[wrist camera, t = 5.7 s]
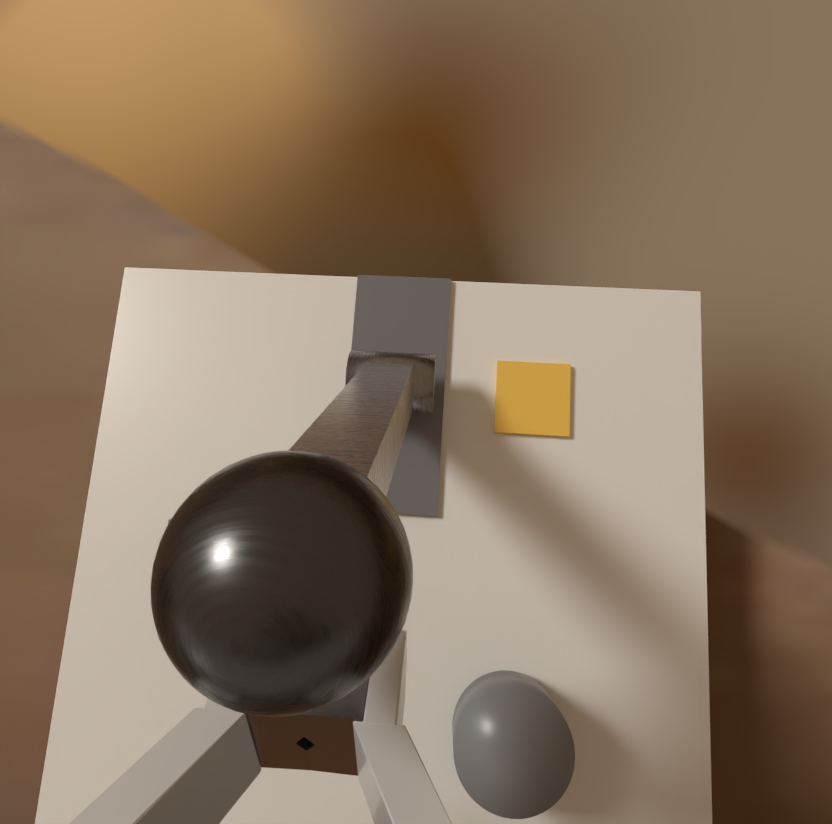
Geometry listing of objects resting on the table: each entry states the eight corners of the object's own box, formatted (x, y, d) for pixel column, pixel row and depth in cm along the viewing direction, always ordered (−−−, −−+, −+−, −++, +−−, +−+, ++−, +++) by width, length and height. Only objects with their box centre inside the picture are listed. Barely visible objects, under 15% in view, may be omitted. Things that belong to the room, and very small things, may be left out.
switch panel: (666, 321, 23) (702, 289, 20) (673, 837, 19) (717, 899, 16) (164, 298, 24) (121, 265, 21) (93, 782, 21) (30, 830, 18)
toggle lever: (439, 422, 19) (396, 798, 6) (349, 418, 19) (106, 772, 6) (443, 331, 19) (405, 523, 5) (350, 327, 19) (74, 502, 5)
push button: (562, 674, 17) (575, 692, 16) (560, 792, 17) (574, 824, 15) (455, 666, 18) (456, 682, 16) (449, 782, 17) (449, 813, 15)
